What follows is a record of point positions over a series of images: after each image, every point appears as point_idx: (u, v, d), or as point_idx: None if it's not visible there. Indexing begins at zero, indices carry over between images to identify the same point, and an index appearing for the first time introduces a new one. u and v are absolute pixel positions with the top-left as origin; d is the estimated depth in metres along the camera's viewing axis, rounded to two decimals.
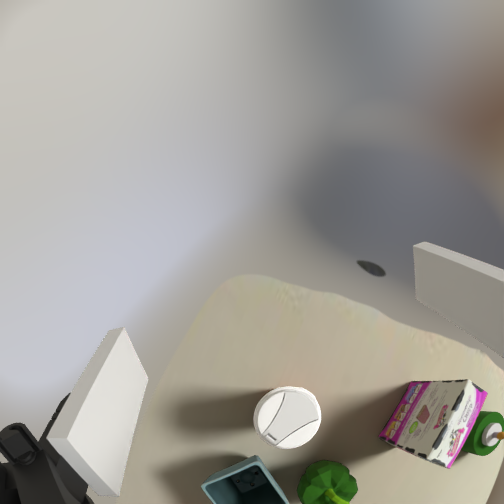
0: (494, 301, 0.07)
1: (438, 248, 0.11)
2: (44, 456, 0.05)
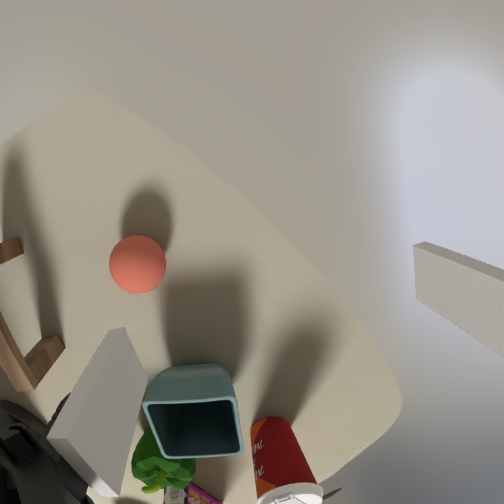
0: (494, 301, 0.07)
1: (438, 248, 0.11)
2: (44, 456, 0.05)
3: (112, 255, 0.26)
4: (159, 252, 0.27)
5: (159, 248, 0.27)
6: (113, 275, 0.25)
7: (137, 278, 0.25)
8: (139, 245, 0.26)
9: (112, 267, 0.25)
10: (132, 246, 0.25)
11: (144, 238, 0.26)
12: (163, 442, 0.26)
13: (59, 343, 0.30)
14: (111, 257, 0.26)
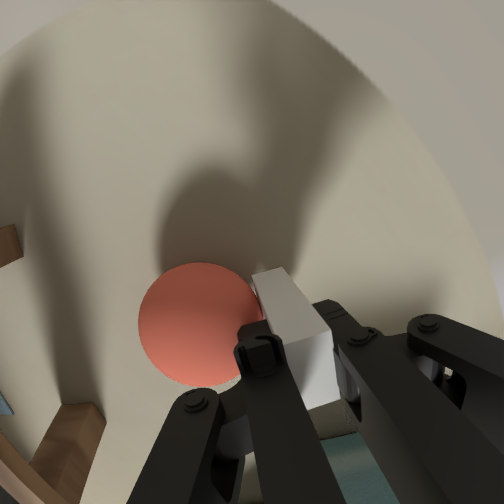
0: None
1: (283, 275, 0.13)
2: (288, 371, 0.07)
3: None
4: (190, 347, 0.10)
5: (202, 335, 0.10)
6: None
7: None
8: (153, 310, 0.11)
9: None
10: (146, 303, 0.11)
11: (176, 297, 0.11)
12: None
13: (96, 419, 0.16)
14: None
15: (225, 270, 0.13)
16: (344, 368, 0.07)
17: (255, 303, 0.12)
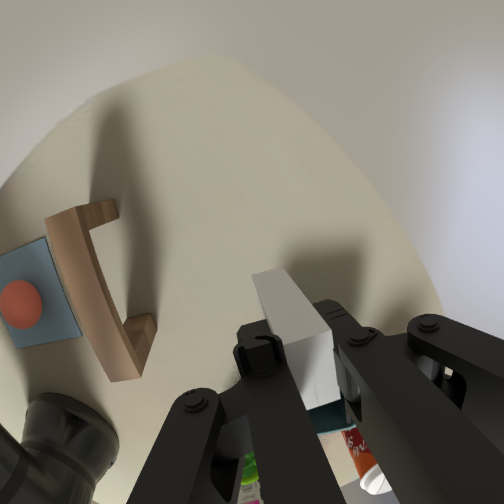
0: None
1: (283, 275, 0.13)
2: (288, 371, 0.07)
3: (27, 286, 0.26)
4: None
5: None
6: (36, 299, 0.26)
7: None
8: None
9: (34, 292, 0.26)
10: None
11: None
12: None
13: (152, 323, 0.31)
14: (27, 288, 0.26)
15: None
16: (344, 368, 0.07)
17: None
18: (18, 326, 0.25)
